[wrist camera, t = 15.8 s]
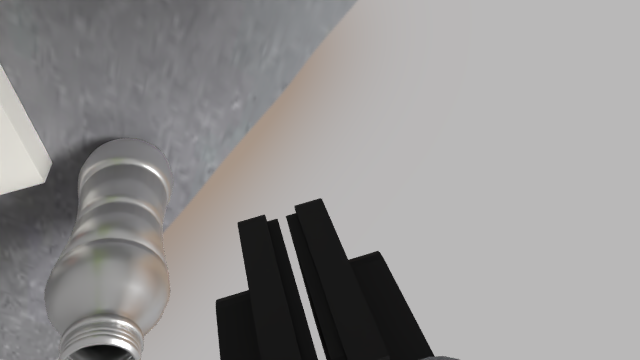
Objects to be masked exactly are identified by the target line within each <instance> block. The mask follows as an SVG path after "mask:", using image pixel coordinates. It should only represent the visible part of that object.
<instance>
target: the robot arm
mask: <svg viewBox="0 0 640 360" xmlns="http://www.w3.org/2000/svg"><path fill="white" fill-rule="evenodd" d="M295 211H296V213H295V214H292V215H288V216H286V218H287V221H288V225H289V229H290V232H291V236H292V240H293V244H294V247H295V250H296V254H297V258H298V261H299V265H300V269H301V272H302V276H303V279H304V283H305V287H306V291H307V294H308V298H309V301H310V305H311V309H312V312H313V316H314V319H315V323H316V326H317V329H318V333H319V336H320V339H321V342H322V346H323V349H324V353H325V355H326V359H327V360H459V359H455V358H450V357H446V356H438V357H435V356H434V354H433V352H432V350H431V349H430V347H429V345H428V343H427V341H426V339H425V337H424V335H423V333H422V331H421V329H420V328H419V326H418V324H417V322H416V320H415V318H414V316H413V314H412V312H411V310H410V308H409V306H408V304H407V303H406V301H405V299H404V297H403V295H402V293H401V291H400V289H399V287H398V285H397V284H396V282H395V280H394V278H393V276H392V274H391V272H390V270H389V268H388V266H387V264H386V262H385V261H384V258H383V257H382V255H381V253H380V252H379V251H376V252H373V253H370V254H366V255H364V256H360V257H356V258H353V259H350V260H348V259H347V256H346V254H345V252H344V249H343V247H342V245H341V242H340V240H339V238H338V235H337V233H336V231H335V228H334V226H333V224H332V221H331V219H330V217H329V215H328V212H327V210H326V208H325V205H324V203H323V201H322V199H317V200H313V201H310V202H306V203H303V204H299V205H296V206H295ZM238 229H239V235H240V241H241V247H242V252H243V258H244V264H245V270H246V275H247V281H248V287H249V290H247V291H244V292H241V293H238V294H235V295H231V296H228V297H225V298H221V299H218V300H216V315H217V326H218V337H219V348H220V359H221V360H318V358H317V355H316V351H315V348H314V345H313V341H312V338H311V334H310V330H309V327H308V323H307V320H306V317H305V313H304V309H303V306H302V303H301V300H300V296H299V292H298V289H297V285H296V282H295V278H294V275H293V271H292V268H291V264H290V261H289V258H288V254H287V250H286V247H285V244H284V241H283V237H282V233H281V230H280V226H279V223H278V219H274V220H271V221H268V222H267V220H266V217H265V215H261V216H258V217H255V218H251V219H248V220H244V221H241V222H238Z"/></svg>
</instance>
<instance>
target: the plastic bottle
mask: <svg viewBox="0 0 640 360" xmlns="http://www.w3.org/2000/svg"><path fill="white" fill-rule="evenodd" d="M173 184H174V181H173V174H172V171H171V168H170V165H169V162H168V160H167V158H166V157H165V155H164V154H163V153H162V152H161V151H160V150H159V149H158V148H157V147H155V146H154V145H152V144H150V143H148V142H146V141H143V140H139V139H133V138H121V139H116V140H112V141H109V142H107V143H104V144H102V145H101V146H99V147H98V148H96V149H95V150H94V151H93V152H92V154H91V155H90V156H89V157H88V159H87V160H86V161H85V163H84V164H83V166H82V168H81V170H80V173H79V176H78V199H79V204H78V212H77V220H76V222H75V225H74V228H73V230H72V233H71V236H70V238H69V241H68V243H67V245H66V246H65V248H64V250H63V252H62V254H61V255H60V257H59V259H58V261H57V262H56V264H55V266H54V268H53V269H52V271H51V274H50V276H49V279H48V281H47V284H46V287H45V295H44V300H45V306H46V312H47V315H48V319H49V321H50V322H51V324H52V326H53V327H54V328H55V330H56V331H57V332H58V333H59V334H60V336H61V340H60V345H59V355H60V356H59V360H141V353H142V351H143V346H144V336H145V335H146V334H147V333H148V332H149V331H150V330H151V329H152V328H153V327H154V326H155V325H156V324H157V323H158V321H159V320H160V319H161V317H162V315H163V313H164V310H165V308H166V306H167V303H168V301H169V297H170V280H169V272H168V267H167V262H166V258H165V253H164V248H163V221H164V216H165V211H166V208H167V206H168V203H169V201H170V198H171V194H172V191H173Z"/></svg>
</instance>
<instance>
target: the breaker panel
mask: <svg viewBox="0 0 640 360" xmlns="http://www.w3.org/2000/svg"><path fill="white" fill-rule="evenodd" d="M52 163H53V162H52V161H51V159H50V157H49V155H48V153H47V151H46V149H45V147H44V145H43V144H42V142H41V140H40V138H39V136H38V134H37V132H36V130H35V128H34V127H33V125H32V123H31V121H30V119H29V117H28V115H27V113H26V111H25V110H24V108H23V106H22V104H21V102H20V100H19V98H18V96H17V94H16V93H15V91H14V89H13V87H12V85H11V83H10V81H9V79H8V77H7V76H6V74H5V72H4V70H3V68H2V66H1V64H0V195H2V194H6V193H9V192H13V191H17V190H20V189H24V188H28V187H31V186H35V185H39V184H42V183H45V181H46V178H47V176H48V173H49V171H50V168H51V166H52Z"/></svg>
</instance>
